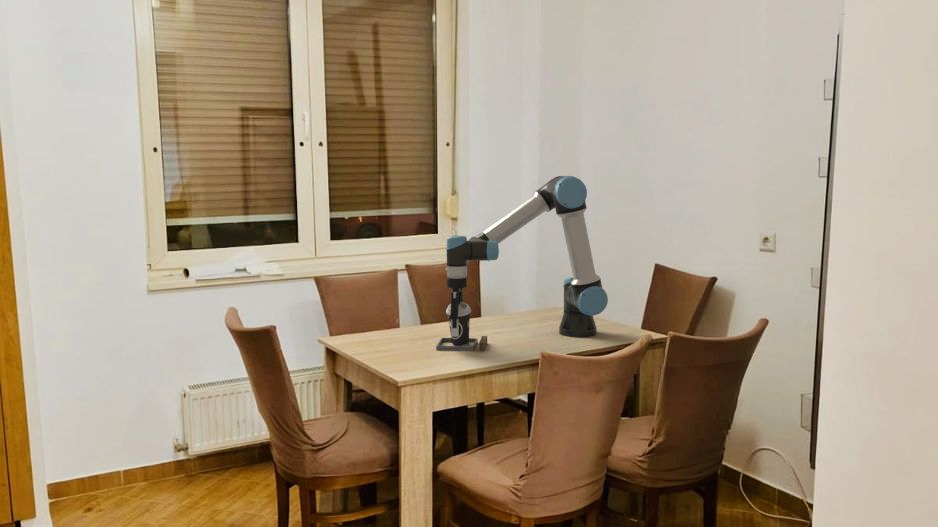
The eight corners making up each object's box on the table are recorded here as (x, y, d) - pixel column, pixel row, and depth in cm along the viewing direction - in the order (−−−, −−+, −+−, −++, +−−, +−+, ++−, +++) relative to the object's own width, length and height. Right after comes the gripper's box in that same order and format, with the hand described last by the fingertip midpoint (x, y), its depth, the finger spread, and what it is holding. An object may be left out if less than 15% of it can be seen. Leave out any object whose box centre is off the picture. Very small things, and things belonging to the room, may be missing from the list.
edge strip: (487, 343, 299) (487, 335, 299) (484, 350, 287) (484, 343, 287) (482, 343, 299) (482, 335, 299) (479, 350, 288) (479, 342, 287)
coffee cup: (471, 347, 294) (469, 311, 288) (446, 347, 295) (444, 311, 289) (473, 336, 303) (471, 300, 297) (449, 336, 303) (447, 301, 298)
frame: (477, 342, 302) (477, 338, 301) (473, 350, 288) (473, 346, 288) (441, 341, 303) (441, 337, 303) (436, 349, 289) (436, 345, 289)
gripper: (451, 272, 305) (451, 325, 307) (442, 281, 280) (442, 339, 283) (470, 272, 304) (470, 325, 307) (462, 281, 279) (463, 339, 282)
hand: (457, 332), depth 295 cm, fingers open, 13 cm apart
